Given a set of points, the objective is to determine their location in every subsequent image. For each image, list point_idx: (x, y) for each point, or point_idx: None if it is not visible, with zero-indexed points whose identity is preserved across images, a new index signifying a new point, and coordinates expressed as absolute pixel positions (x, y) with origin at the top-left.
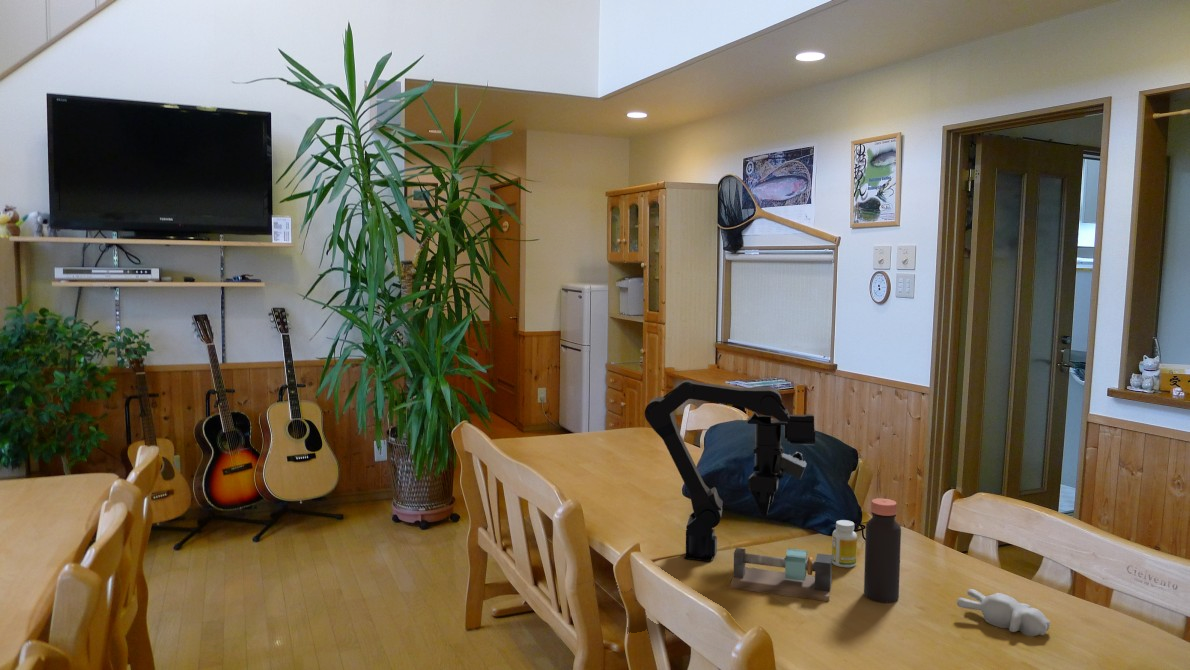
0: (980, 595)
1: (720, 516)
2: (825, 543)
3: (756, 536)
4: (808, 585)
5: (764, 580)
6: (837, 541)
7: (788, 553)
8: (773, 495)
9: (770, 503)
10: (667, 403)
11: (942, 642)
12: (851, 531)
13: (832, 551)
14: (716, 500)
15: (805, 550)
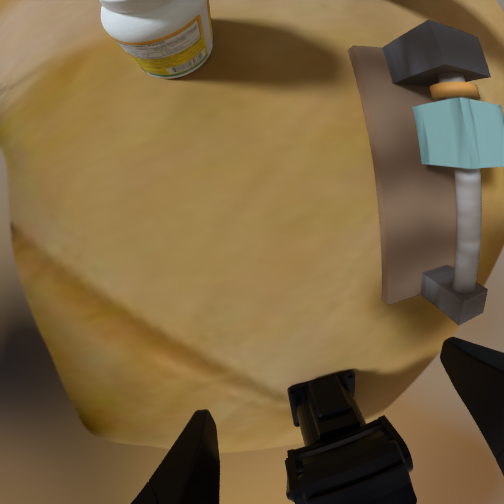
0: None
1: (397, 447)
2: (42, 161)
3: (111, 348)
4: (428, 102)
5: (444, 214)
6: (203, 15)
7: (496, 160)
8: (196, 454)
9: (209, 416)
10: None
11: None
12: None
13: (189, 57)
14: (391, 497)
15: (462, 103)
